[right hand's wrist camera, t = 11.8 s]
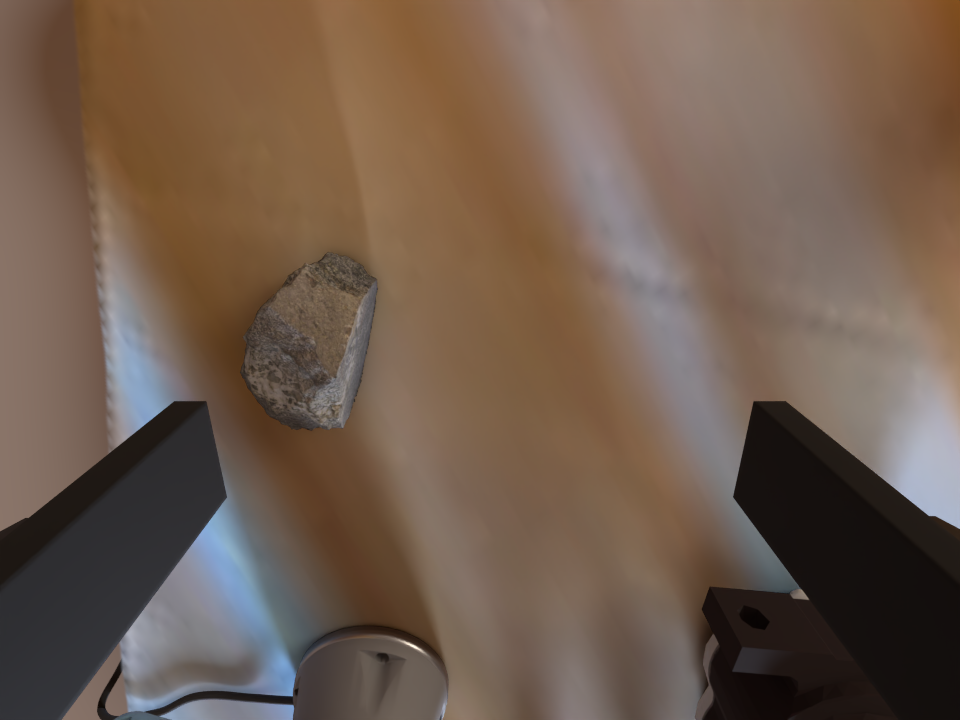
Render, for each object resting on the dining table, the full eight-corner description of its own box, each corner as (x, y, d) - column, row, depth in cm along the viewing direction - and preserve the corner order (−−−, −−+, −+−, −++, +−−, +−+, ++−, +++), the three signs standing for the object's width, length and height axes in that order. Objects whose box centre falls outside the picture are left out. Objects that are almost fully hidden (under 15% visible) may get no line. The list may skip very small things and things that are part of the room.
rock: (352, 425, 42) (329, 469, 36) (245, 399, 41) (203, 440, 35) (385, 265, 37) (365, 285, 31) (265, 233, 37) (220, 247, 31)
